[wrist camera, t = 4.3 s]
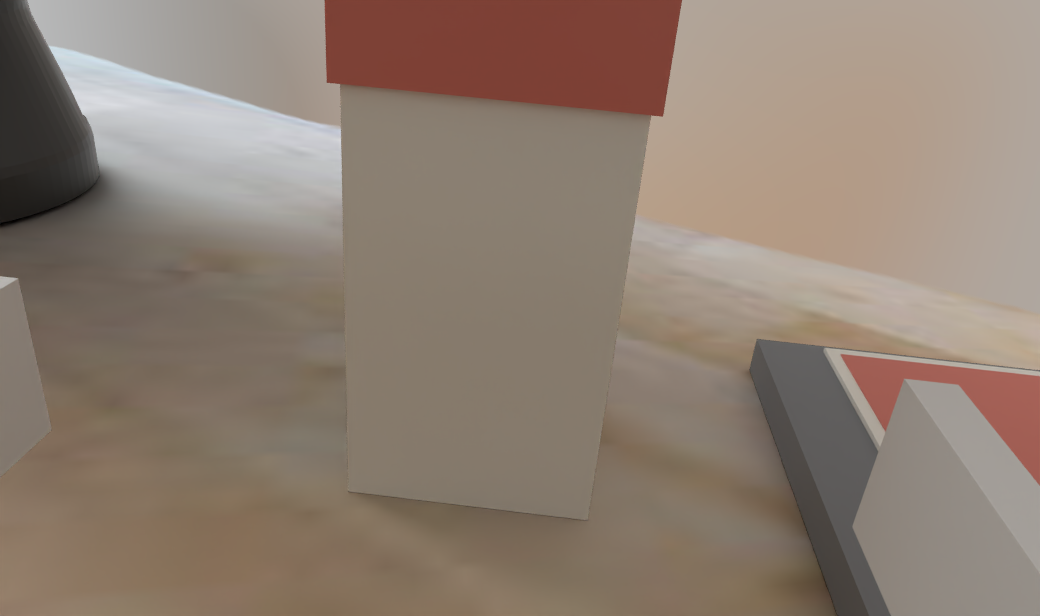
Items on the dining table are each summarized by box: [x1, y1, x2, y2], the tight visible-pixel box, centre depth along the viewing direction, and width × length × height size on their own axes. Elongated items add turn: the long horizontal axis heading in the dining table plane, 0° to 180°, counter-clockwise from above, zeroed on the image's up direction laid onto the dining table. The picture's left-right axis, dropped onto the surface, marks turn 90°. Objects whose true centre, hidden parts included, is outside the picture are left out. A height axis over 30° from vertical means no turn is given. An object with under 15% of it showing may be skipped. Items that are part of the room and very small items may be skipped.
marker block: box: [325, 0, 682, 520], centre depth 19 cm, size 6×6×13 cm
